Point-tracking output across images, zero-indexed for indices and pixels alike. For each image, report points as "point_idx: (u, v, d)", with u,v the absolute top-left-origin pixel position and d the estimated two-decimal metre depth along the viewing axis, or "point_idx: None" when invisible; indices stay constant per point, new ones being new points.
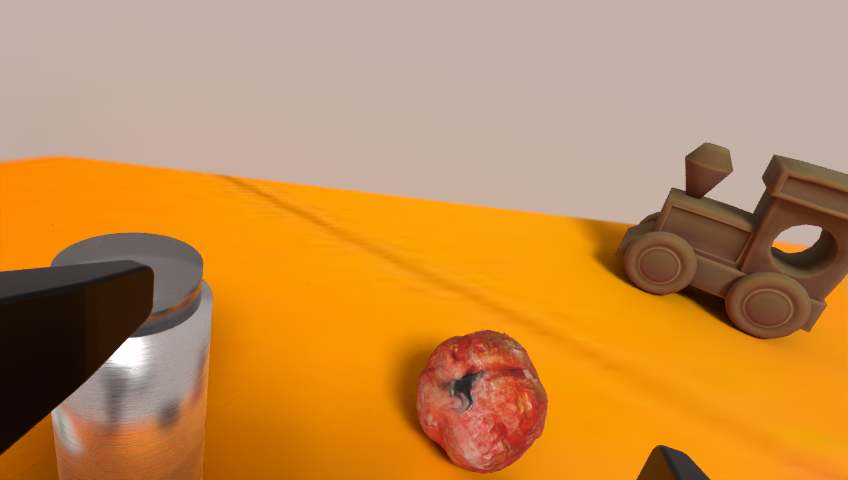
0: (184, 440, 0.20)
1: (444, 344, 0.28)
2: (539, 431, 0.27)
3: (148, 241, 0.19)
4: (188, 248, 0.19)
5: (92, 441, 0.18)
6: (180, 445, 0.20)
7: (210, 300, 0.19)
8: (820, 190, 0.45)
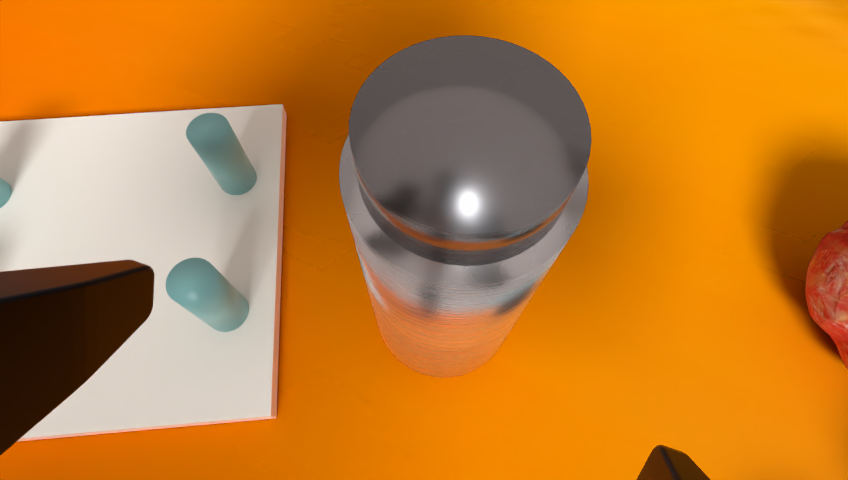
0: (511, 324, 0.15)
1: None
2: None
3: (488, 60, 0.10)
4: (558, 80, 0.10)
5: (413, 329, 0.14)
6: (506, 329, 0.15)
7: (584, 179, 0.11)
8: None
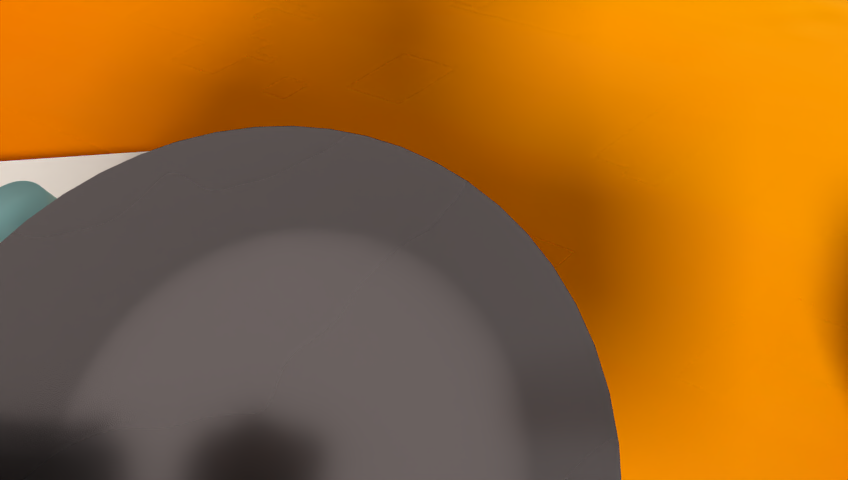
0: None
1: None
2: None
3: (334, 202, 0.04)
4: (523, 269, 0.04)
5: None
6: None
7: None
8: None
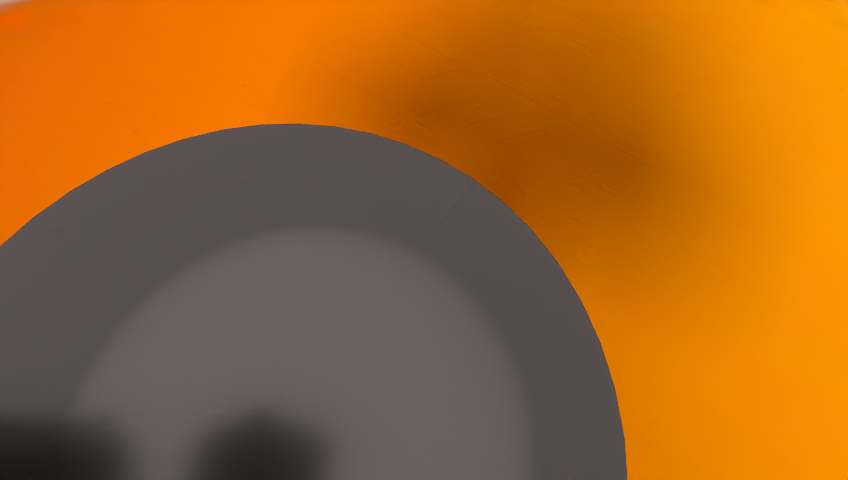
0: None
1: None
2: None
3: (339, 199, 0.04)
4: (530, 265, 0.04)
5: None
6: None
7: None
8: None
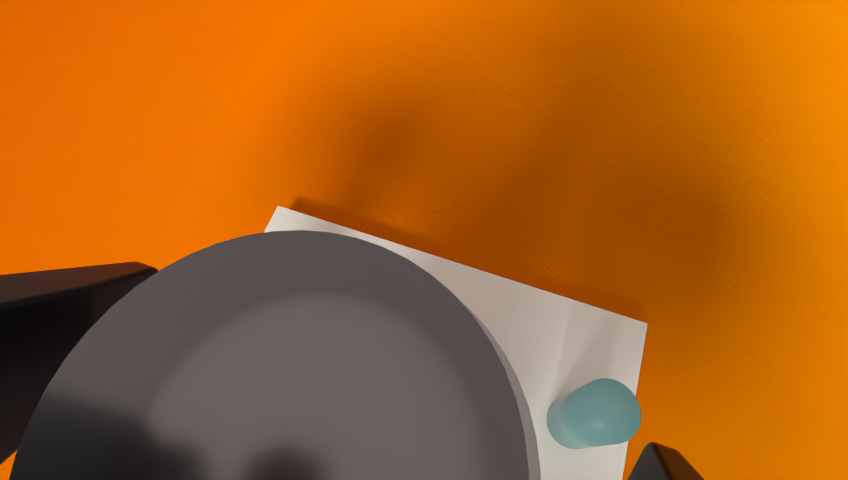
0: None
1: None
2: None
3: (331, 292, 0.05)
4: (469, 341, 0.05)
5: None
6: None
7: None
8: None
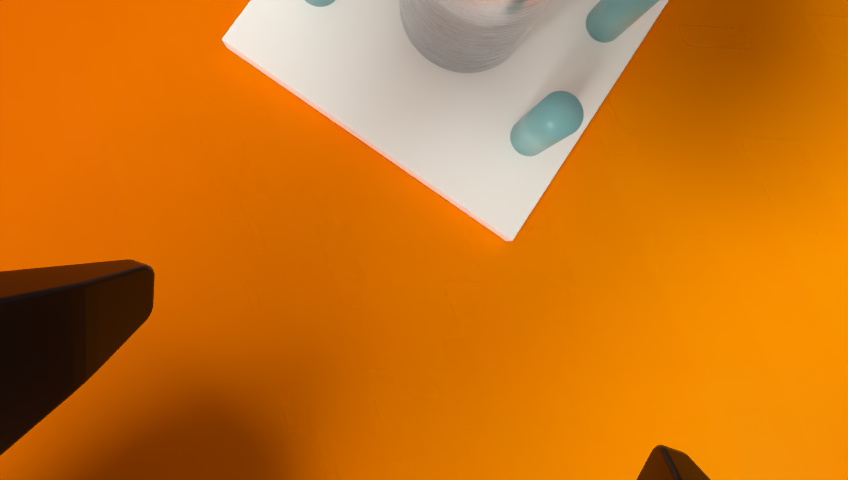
0: (536, 5, 0.16)
1: None
2: None
3: None
4: None
5: None
6: (530, 9, 0.16)
7: None
8: None
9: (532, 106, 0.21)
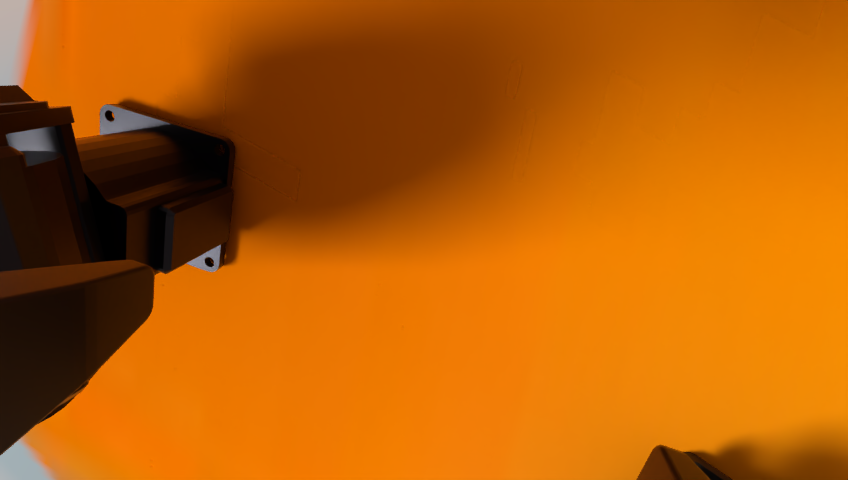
0: None
1: None
2: None
3: None
4: None
5: None
6: None
7: None
8: None
9: None
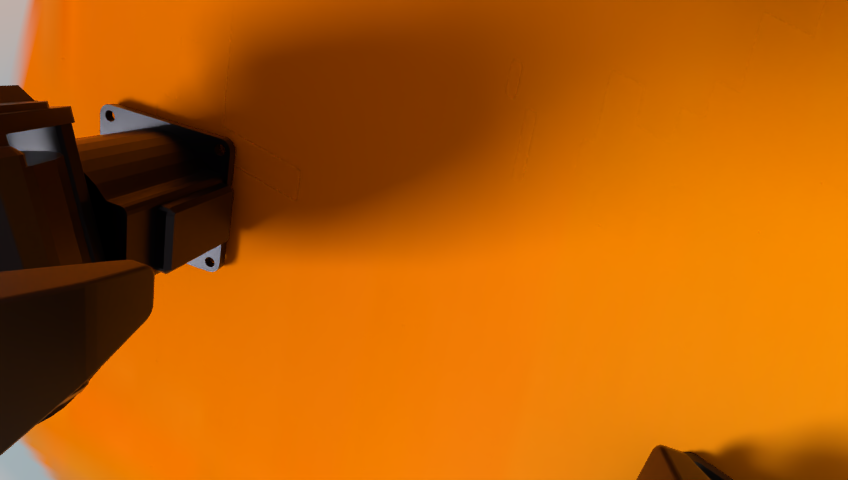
0: None
1: None
2: None
3: None
4: None
5: None
6: None
7: None
8: None
9: None
